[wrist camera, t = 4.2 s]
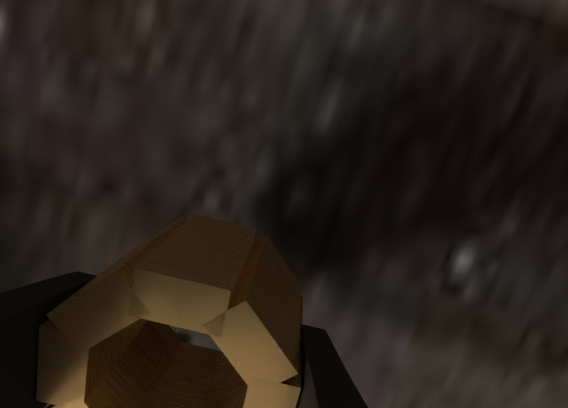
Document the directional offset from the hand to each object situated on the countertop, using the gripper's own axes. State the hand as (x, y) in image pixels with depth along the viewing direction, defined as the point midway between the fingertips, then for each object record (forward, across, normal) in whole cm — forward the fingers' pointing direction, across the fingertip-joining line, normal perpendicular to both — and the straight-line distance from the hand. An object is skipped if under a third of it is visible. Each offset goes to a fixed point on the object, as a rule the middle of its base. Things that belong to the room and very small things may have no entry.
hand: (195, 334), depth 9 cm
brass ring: (+2, 0, 0) cm, 2 cm away
